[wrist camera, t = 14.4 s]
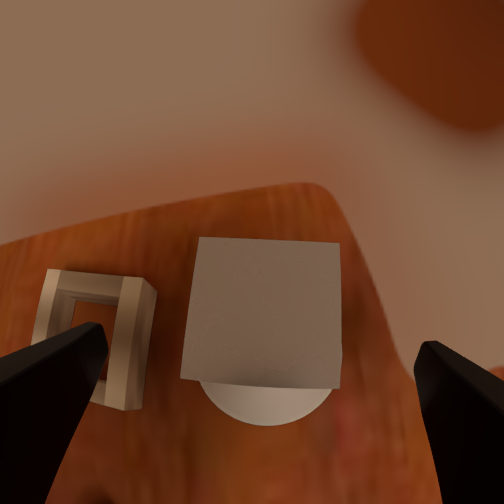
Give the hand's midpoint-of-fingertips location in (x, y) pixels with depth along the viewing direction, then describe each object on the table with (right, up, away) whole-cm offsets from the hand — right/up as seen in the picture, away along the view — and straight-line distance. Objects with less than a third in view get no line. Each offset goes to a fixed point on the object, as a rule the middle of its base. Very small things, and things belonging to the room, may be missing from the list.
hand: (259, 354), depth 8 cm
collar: (-12, -4, +13) cm, 19 cm away
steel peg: (+1, -4, +12) cm, 13 cm away
